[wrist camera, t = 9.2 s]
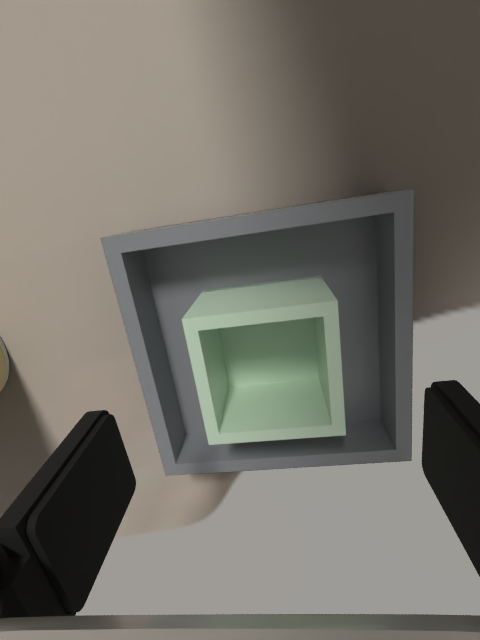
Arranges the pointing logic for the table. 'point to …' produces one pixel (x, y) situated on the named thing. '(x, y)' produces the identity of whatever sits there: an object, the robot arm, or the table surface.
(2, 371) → the coffee cup
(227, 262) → the large crate
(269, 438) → the box
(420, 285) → the table surface
